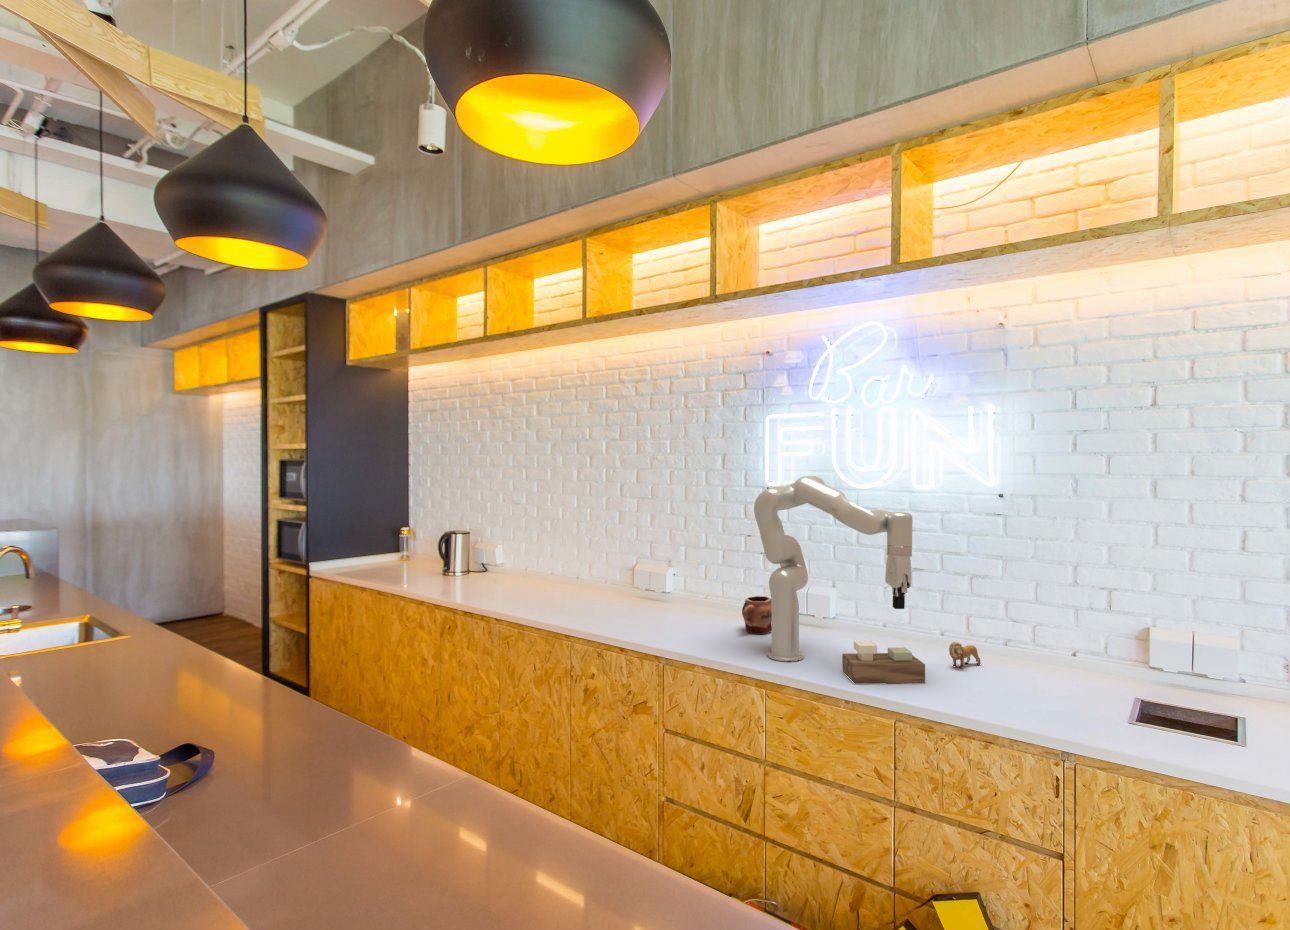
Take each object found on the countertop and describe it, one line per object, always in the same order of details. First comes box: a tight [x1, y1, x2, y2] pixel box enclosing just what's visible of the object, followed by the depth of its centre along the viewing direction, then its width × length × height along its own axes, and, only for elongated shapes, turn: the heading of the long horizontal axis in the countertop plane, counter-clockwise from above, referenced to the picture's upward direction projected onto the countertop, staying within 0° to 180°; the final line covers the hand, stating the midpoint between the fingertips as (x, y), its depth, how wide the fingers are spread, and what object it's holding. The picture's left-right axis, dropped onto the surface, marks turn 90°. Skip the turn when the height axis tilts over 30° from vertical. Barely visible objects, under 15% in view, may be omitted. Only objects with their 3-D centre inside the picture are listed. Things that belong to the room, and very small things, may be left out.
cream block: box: [853, 640, 878, 661], centre depth 211 cm, size 6×6×7 cm
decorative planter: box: [741, 595, 772, 635], centre depth 267 cm, size 20×12×14 cm, turn 145°
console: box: [841, 652, 926, 685], centre depth 211 cm, size 12×22×6 cm, turn 90°
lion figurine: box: [948, 641, 982, 668], centre depth 222 cm, size 15×5×9 cm, turn 124°
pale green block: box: [887, 646, 913, 661], centre depth 211 cm, size 6×6×7 cm
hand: (898, 608), depth 211 cm, fingers closed
